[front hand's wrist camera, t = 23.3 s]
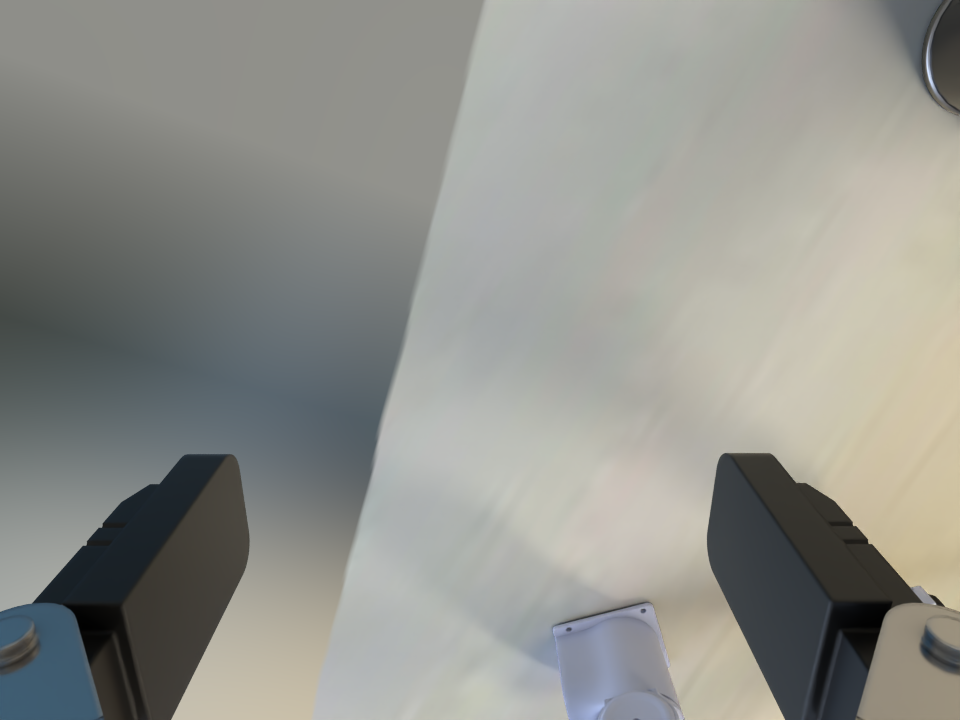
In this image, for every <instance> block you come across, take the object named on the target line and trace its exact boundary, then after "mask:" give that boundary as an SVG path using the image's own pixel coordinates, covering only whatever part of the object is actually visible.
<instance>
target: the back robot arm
mask: <svg viewBox="0 0 960 720" xmlns="http://www.w3.org/2000/svg"><path fill="white" fill-rule="evenodd" d="M911 589H912V590H913V592H914V593H915V594H916V595H917V596H918V597H919V598H920V600H921V601H922V602H923V603H926V604H934V605H938V606H943V607H945V606H944V605H943V604H942V603H941V601H940V600H939V599H938V598H937V597H935V596H933V595H929V594H927V593H926V592H925V590H924V589H923V588H922V587H921V586H916V587H911ZM641 609H644V610H641ZM569 627H570V629H567V628H569ZM553 634H554V636H555V641H556V648H557V655H558V662H559V670H560V677H561V684H562V690H563V696H564V701H565V705H566V710H567V714H568V717H569V720H685V719H684V716H683V713H682V710H681V707H680V703H679V700H678V697H677V694H676V691H675V688H674V685H673V682H672V679H671V676H670V673H669V670H668V668H669V667H670V662H669V659H668V655H667V652H666V648H665V645H664V641H663V638H662V635H661V631H660V628H659V624H658V621H657V617H656V614H655V610H654V607H653V605H652V604H651V603H644V604H640V605H636V606H632V607H628V608H624V609H620V610H616V611H612V612H608V613H604V614H600V615H597V616H593V617H589V618H585V619H581V620H577V621H573V622H569V623H565V624H561V625H557V626H555V627H554V628H553Z"/></svg>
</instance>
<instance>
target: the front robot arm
mask: <svg viewBox="0 0 960 720" xmlns="http://www.w3.org/2000/svg"><path fill="white" fill-rule="evenodd" d="M922 70H923V76H924V80H925V83H926V86H927V88H928V90H929V92H930V94H931V95H932V97H933V98H934V99H935V100H936V102H937V103H938V104H939V105H941V106H942V107H943V108H944V109H946V110H947V111H949V112H951V113H953V114H956V115H958V116H960V0H944V1H943V3H942V4H941V5H940V7H939V8H938V10H937V11H936V13H935V15H934V17H933V19H932V21H931V23H930V25H929V28H928V30H927V33H926V36H925V40H924V44H923V51H922ZM707 549H708V556H709V561H710V565H711V568H712V571H713V573H714V575H715V577H716V579H717V581H718V583H719V585H720V587H721V589H722V592H723V594H724V596H725V598H726V600H727V602H728V604H729V606H730V608H731V610H732V612H733V614H734V616H735V618H736V620H737V622H738V624H739V626H740V628H741V630H742V632H743V634H744V636H745V639H746V641H747V643H748V645H749V647H750V649H751V651H752V653H753V655H754V657H755V659H756V661H757V663H758V665H759V667H760V669H761V671H762V673H763V675H764V677H765V679H766V681H767V683H768V685H769V688H770V690H771V692H772V694H773V696H774V698H775V700H776V702H777V704H778V706H779V708H780V710H781V712H782V714H783V716H784V718H785V720H960V612H958V611H956V610H953V609H949V608H946V607H943V606H938V605H934V604H926V603H923V602H922V601H921V600H920V598H919V597H918V596H917V595H916V594H915V593H914V592H913V590H912V589H911V588H910V587H909V586H908V585H907V584H906V582H905V581H904V580H903V579H902V578H901V577H900V576H899V574H898V573H897V572H896V571H895V570H894V569H893V568H892V566H891V565H890V564H889V563H888V562H887V561H886V560H885V558H884V557H883V556H882V555H881V554H880V553H879V552H878V550H877V549H876V548H875V547H874V546H873V545H872V544H868V539H867V538H866V537H865V536H864V534H863V533H862V532H861V531H860V530H859V529H858V528H857V526H853V522H852V521H851V520H850V518H849V517H848V516H847V515H846V514H845V513H844V512H843V510H842V509H841V508H840V507H839V506H838V505H837V504H836V502H835V501H833V500H832V499H830V498H829V497H827V496H825V495H824V494H822V493H821V492H819V491H818V490H816V489H814V488H813V487H811V486H810V485H808V484H806V483H796V482H795V481H794V480H793V479H792V477H791V476H790V475H789V474H788V472H787V471H786V470H785V469H784V468H783V466H782V465H781V464H780V463H779V461H778V460H777V459H776V458H775V457H774V456H773V455H772V454H770V453H724V454H723V455H721V457H720V459H719V461H718V465H717V470H716V477H715V484H714V491H713V497H712V504H711V511H710V518H709V525H708V532H707ZM248 555H249V529H248V523H247V516H246V509H245V502H244V496H243V489H242V482H241V476H240V469H239V465H238V461H237V459H236V458H235V456H234V455H231V454H187V455H184V456H183V457H182V458H181V459H180V460H179V461H178V463H177V464H176V465H175V466H174V467H173V469H172V470H171V471H170V472H169V474H168V475H167V476H166V477H165V478H164V479H163V481H162V482H161V483H160V484H150V485H148V486H147V487H145V488H143V489H142V490H140V491H139V492H137V493H136V494H134V495H132V496H131V497H129V498H128V499H126V500H124V501H123V502H121V503H120V505H119V506H118V507H117V508H116V509H115V510H114V511H113V512H112V514H111V515H110V516H109V517H108V518H107V519H106V520H105V522H104V523H103V527H102V528H98V529H97V531H96V532H95V533H94V534H93V535H92V536H91V537H90V538H89V540H88V541H87V545H86V546H82V548H81V549H80V550H79V551H78V552H77V553H76V554H75V555H74V557H73V558H72V559H71V560H70V561H69V562H68V563H67V565H66V566H65V567H64V568H63V569H62V570H61V571H60V572H59V574H58V575H57V576H56V577H55V578H54V579H53V580H52V581H51V583H50V584H49V585H48V586H47V587H46V588H45V589H44V591H43V592H42V593H41V594H40V595H39V596H38V597H37V598H36V600H35V601H34V602H33V603H32V604H26V605H22V606H17V607H14V608H11V609H8V610H4V611H2V612H0V720H171V719H172V717H173V715H174V713H175V711H176V709H177V707H178V704H179V703H180V700H181V699H182V696H183V694H184V692H185V690H186V688H187V686H188V684H189V682H190V680H191V678H192V676H193V674H194V672H195V670H196V668H197V666H198V664H199V662H200V660H201V658H202V656H203V654H204V652H205V650H206V648H207V646H208V644H209V642H210V640H211V638H212V636H213V634H214V632H215V630H216V628H217V626H218V624H219V622H220V620H221V618H222V616H223V614H224V612H225V610H226V608H227V606H228V604H229V602H230V600H231V598H232V596H233V594H234V591H235V589H236V588H237V586H238V583H239V581H240V579H241V577H242V575H243V573H244V571H245V568H246V565H247V560H248Z"/></svg>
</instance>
